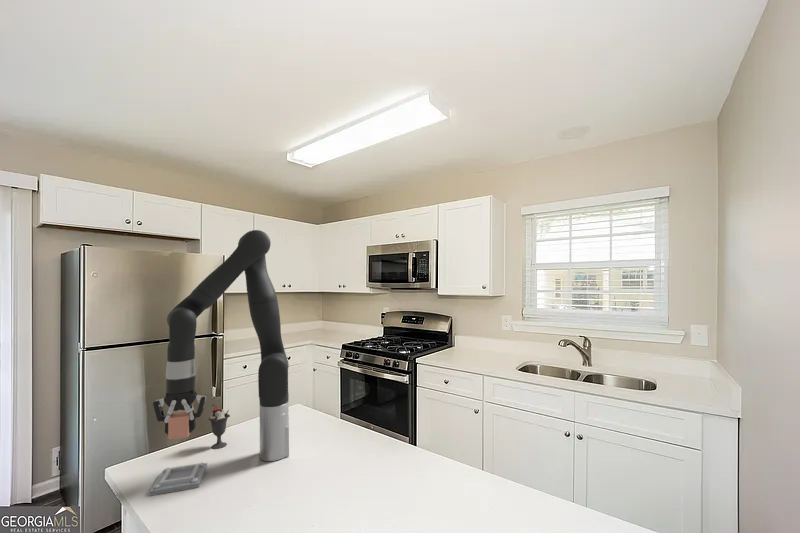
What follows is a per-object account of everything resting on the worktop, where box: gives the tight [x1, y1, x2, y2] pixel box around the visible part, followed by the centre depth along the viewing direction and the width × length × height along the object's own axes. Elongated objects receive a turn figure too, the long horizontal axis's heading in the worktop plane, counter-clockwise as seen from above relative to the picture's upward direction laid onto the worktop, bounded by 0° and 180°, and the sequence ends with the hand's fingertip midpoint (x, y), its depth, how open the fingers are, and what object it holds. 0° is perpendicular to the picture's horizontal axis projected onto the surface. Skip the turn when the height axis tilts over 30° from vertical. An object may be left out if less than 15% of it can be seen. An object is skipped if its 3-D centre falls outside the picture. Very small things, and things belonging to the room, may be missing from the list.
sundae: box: [208, 403, 231, 450], centre depth 129 cm, size 7×7×15 cm
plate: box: [149, 462, 208, 496], centre depth 107 cm, size 12×12×2 cm
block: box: [167, 410, 191, 441], centre depth 108 cm, size 5×5×6 cm
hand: (180, 432), depth 108 cm, fingers closed on block, 5 cm apart
